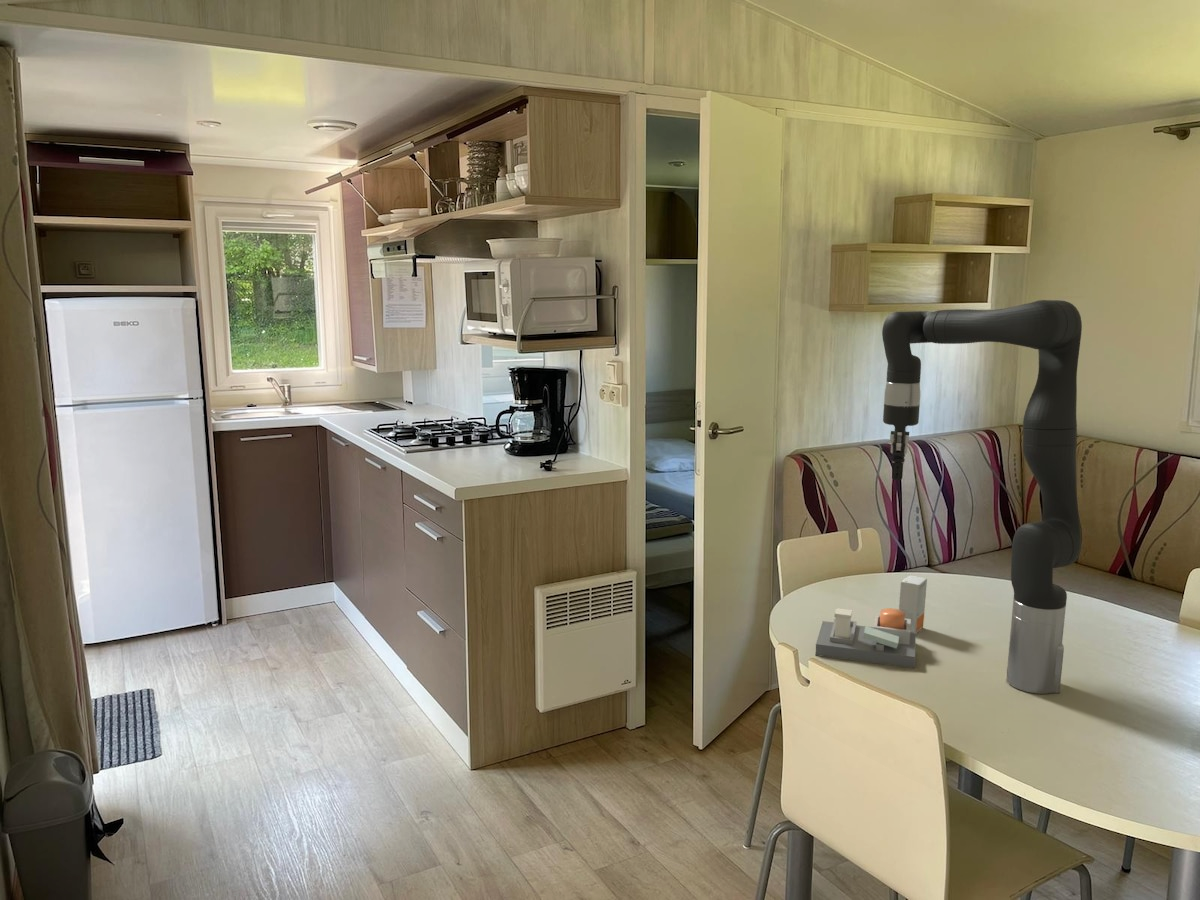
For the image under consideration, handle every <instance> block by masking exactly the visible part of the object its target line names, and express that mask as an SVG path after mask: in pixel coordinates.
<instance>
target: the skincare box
mask: <svg viewBox="0 0 1200 900" xmlns="http://www.w3.org/2000/svg"><path fill="white" fill-rule="evenodd" d="M927 584H928V578H925V577H921V576H915V575H908V576H906V577H905V578H903V580H901V582H900V590H899V601H898V603H899V604H898V610H901V611H903V612H904V613H905V619H911V626H910V632H916V634H918V632H919V631H921V630H922V629H923V628H924V623H925V608H926V598H927V587H928V586H927Z"/></svg>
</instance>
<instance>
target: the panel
mask: <svg viewBox="0 0 1200 900" xmlns="http://www.w3.org/2000/svg"><path fill="white" fill-rule="evenodd" d="M880 615H881V614H880ZM880 615H879V614H874V617H873V618H874V619H873V624H872V626H870V627H871V628H874V629H877V630H880V631H883V632H886V633H889V634H892V635H896V636H899V640H898V646H897V649H896V648H893V647H890V646H887V645H884V644H881V643H877V642H874V641H871V640H868V639H865V638H863V634H864V629H865V626H866V625H858V624H857V621H855V620H851V624H850V637H849V638H841V637H835V618H834V619H833V621H824V620H822V623H821V626H820V629H819V632H818V636H817V640H816V643H815V656H819V655H822V656H821V657H825V658H826V657H828V658H834V659H843V660H850V661H856V662H857V661H858V662H863V663H864V662H865V663H871V664H872V663H873V664H878V665H879V664H881V665H887V666H893V667H901V668H909V669H915V665H916V664H915V663H916V635H917V633H916V632H910V626H911V619H905V620H904V629H896V628H888V627H880Z"/></svg>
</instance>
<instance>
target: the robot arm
mask: <svg viewBox="0 0 1200 900" xmlns="http://www.w3.org/2000/svg"><path fill="white" fill-rule="evenodd" d="M1082 329H1083V324H1082V317H1081V314H1080V311H1079V310H1078V308H1077V307H1076V306H1075V305H1074V304H1073V303H1071V302H1069V301H1066V300H1059V299H1058V300H1055V299H1054V300H1053V299H1051V300H1050V299H1049V300H1048V299H1047V300H1046V299H1039V300H1035V301H1032V302H1028V303H1024V304H1020V305H1016V306H1010V307H1005V308H998V309H972V308H971V309H968V308H967V309H966V308H964V309H963V308H962V309H939V310H934V311H933V310H929V311H928V310H911V311H906V310H905V311H902V310H901V311H894V312H891V313H890V314H889V315H888V316H886V318H885V320H884V322H883V325H882V328H881V330H882V331H881V335H882V342H883V347H884V348H883V349H884V352H885V353H884V354H885V357H886V360H887V361H886V362H887V369H886V384H885V388H884V399H883V413H882V414H883V416H882V422H883V423H884V424H886V425H889V426H893V427H894V430H890V435H889V440H890V453H891V454H892V455H891V456H892V457H891V462H892V470H891V479H892V480H894V481H901V480H903V472H904V464H905V461H906V458H905V457H906V454H908V453H907V452H908V442H909V440H910V431H906V429H907V427H908V426H909V427H911V426H917V425H918V424H919V419H920V408H921V407H920V405H921V375H922V374H921V372H922V371H921V370H922V361H921V358H919V357H918V356H916V355H914V354H912V349H911V344H912V345H913V344H927V343H932V344H939V345H941V344H942V345H943V344H945V345H947V344H948V345H949V344H950V345H951V344H953V345H955V344H956V345H958V344H959V345H960V344H962V345H963V344H974V343H975V344H976V343H986V342H987V343H1003V344H1004V343H1005V344H1011V345H1014V346H1020V347H1025V348H1029V349H1030V348H1031V349H1032V350H1033V349H1034V350H1038V351H1037V352H1038V371H1037V373H1038V374H1037V379H1036V382H1035V385H1034V388H1033V390H1032V393H1031V396H1030V397H1029V400H1028V403H1027V405H1026V408H1025V411H1024V415H1023V420H1022V421H1023V422H1022V449H1023V450H1022V452H1023V457H1024V459H1025V461H1026V464H1027V466H1028V467H1029V470H1030V472H1031V473H1032V475H1033V477H1034V479H1035V481H1036V483H1037V485H1038V487H1039V489H1040V494H1041V499H1042V517H1041V518H1042V519H1041V520H1040V521H1033V522H1028V523H1024V524H1022V525H1020V526H1019V527H1018V528H1017V530H1016V531H1015V532H1014V534H1013V535H1014V536H1013V539H1012V544H1011V556H1010V557H1011V561H1010V562H1011V566H1010V567H1011V568H1010V582H1011V585H1012V588H1013V598H1012V599H1013V600H1012V613H1011V622H1010V633H1009V645H1008V656H1007V667H1006V682H1007V683H1008V684H1009V685H1010V686H1011V687H1013V688H1015V689H1018V690H1020V691H1024V692H1026V693H1032V694H1041V695H1042V694H1043V695H1045V694H1060V692H1061V691H1060V690H1061V682H1062V673H1063V672H1062V671H1063V662H1064V661H1063V660H1064V654H1065V653H1064V651H1065V650H1064V649H1065V647H1064V644H1063V640H1064V639H1063V637H1064V628H1065V619H1066V610H1067V609H1066V608H1067V600H1068V599H1067V598H1068V595H1067V594H1068V593H1067V591H1066V589H1064V588H1063V587H1062V586H1061V585H1058V584H1055V583H1054V582H1053V579H1054V578H1053V576H1054V575H1053V574H1054V569H1057V568H1063V567H1067V566H1071V565H1073V564H1074V563H1075V562H1076V561H1077V559H1078V558H1079V557H1080V553H1081V550H1082V532H1081V531H1082V530H1081V522H1080V512H1079V504H1078V503H1079V502H1078V493H1077V491H1078V489H1077V449H1078V448H1077V447H1078V446H1077V444H1078V431H1077V430H1078V423H1077V420H1078V419H1077V400H1078V399H1077V398H1078V397H1077V396H1078V395H1077V391H1078V389H1077V387H1078V386H1077V385H1078V384H1077V381H1078V379H1077V378H1078V377H1077V376H1078V367H1079V366H1078V364H1079V355H1080V347H1081V339H1082Z"/></svg>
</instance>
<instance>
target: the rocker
mask: <svg viewBox="0 0 1200 900" xmlns="http://www.w3.org/2000/svg"><path fill="white" fill-rule="evenodd" d="M864 626H865V629H864V634H863V638H865V639H868V640H871V641H874V642H877V643H881V644H884V645H887V646H890V647H893V648H896V649H897V646H898V640H899V636H896V635H892V634H889V633H886V632H883V631H880V630H877V629H874V628H871V627H872V626H867V625H864Z"/></svg>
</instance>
